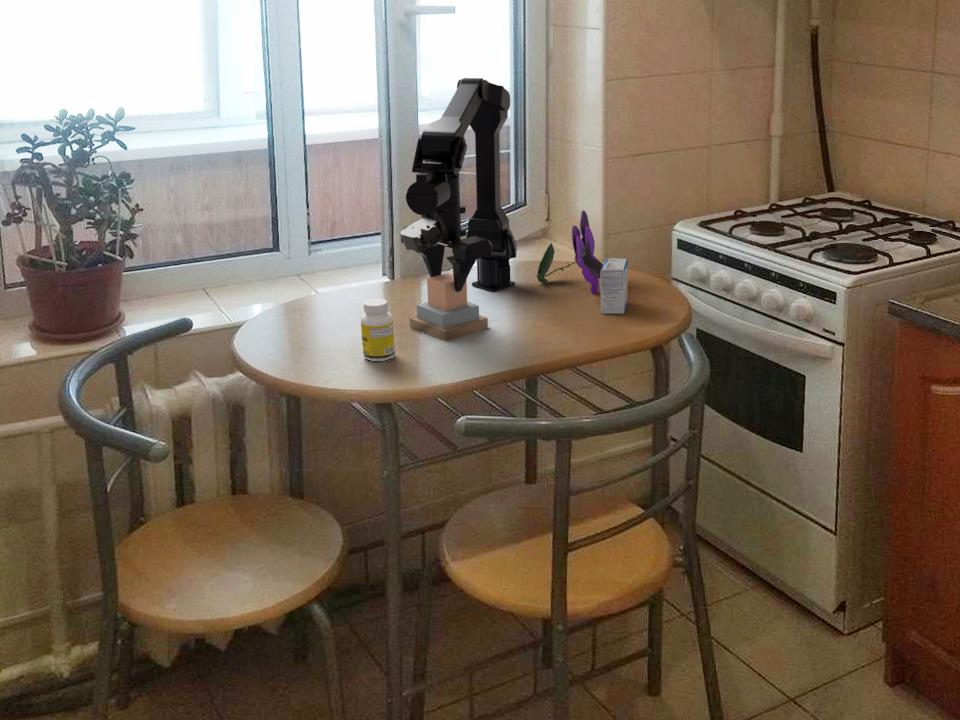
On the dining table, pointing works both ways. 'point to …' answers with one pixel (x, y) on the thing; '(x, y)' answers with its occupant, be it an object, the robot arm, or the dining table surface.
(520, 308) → the dining table surface
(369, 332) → the supplement bottle
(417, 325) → the bottom block
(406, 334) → the dining table surface
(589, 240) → the flower
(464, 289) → the terracotta cube
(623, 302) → the medicine box
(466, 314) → the top block
